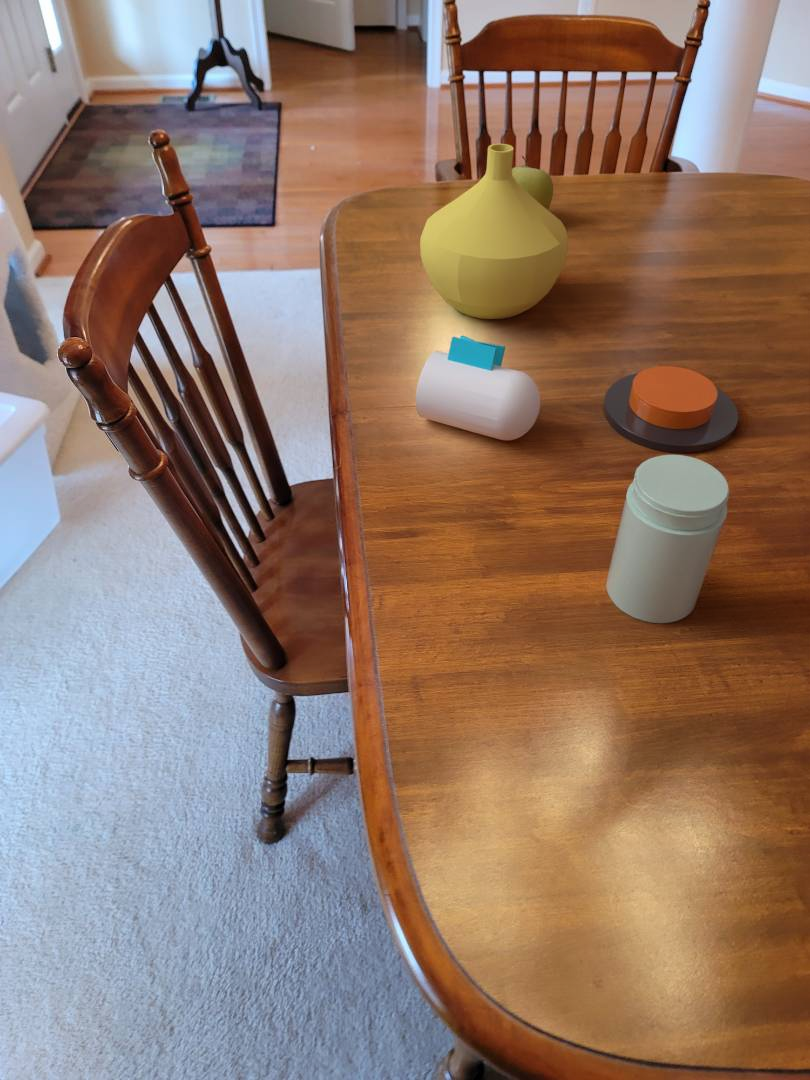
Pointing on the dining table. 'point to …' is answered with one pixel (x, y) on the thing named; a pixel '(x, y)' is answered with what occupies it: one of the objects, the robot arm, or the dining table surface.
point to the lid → (673, 397)
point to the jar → (666, 537)
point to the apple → (535, 183)
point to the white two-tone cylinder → (477, 391)
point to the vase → (494, 245)
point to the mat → (664, 438)
